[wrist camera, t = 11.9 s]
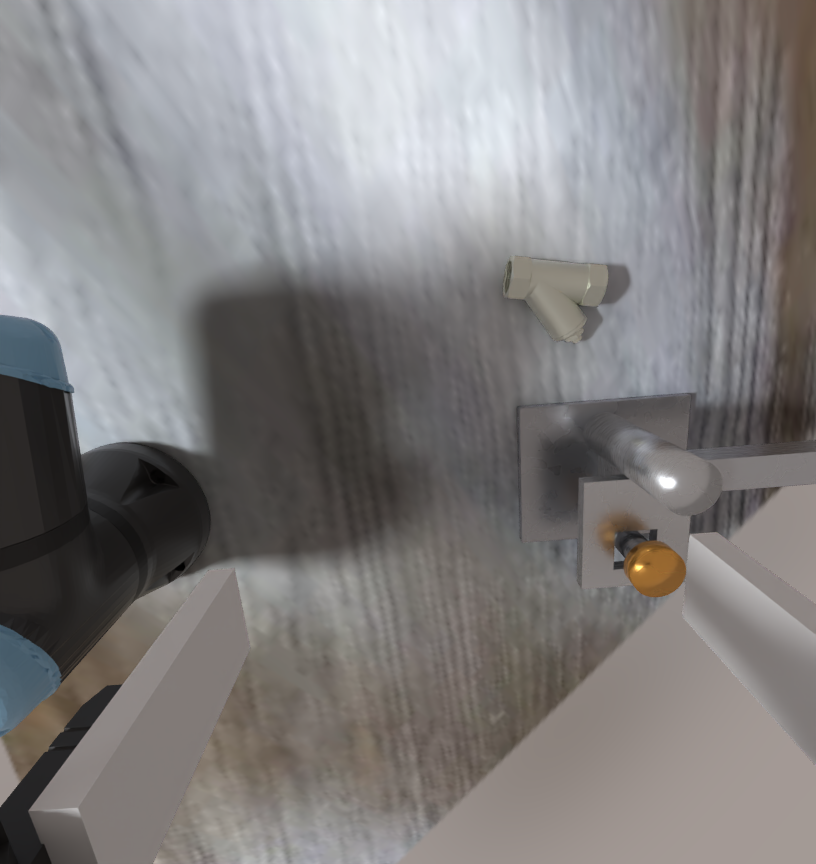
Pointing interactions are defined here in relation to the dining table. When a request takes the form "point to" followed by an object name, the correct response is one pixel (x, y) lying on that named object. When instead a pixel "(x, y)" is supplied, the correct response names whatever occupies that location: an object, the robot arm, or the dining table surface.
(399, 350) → the dining table surface
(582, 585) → the grey lever mechanism
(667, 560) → the gold knobbed rod
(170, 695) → the robot arm
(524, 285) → the pipe fitting
